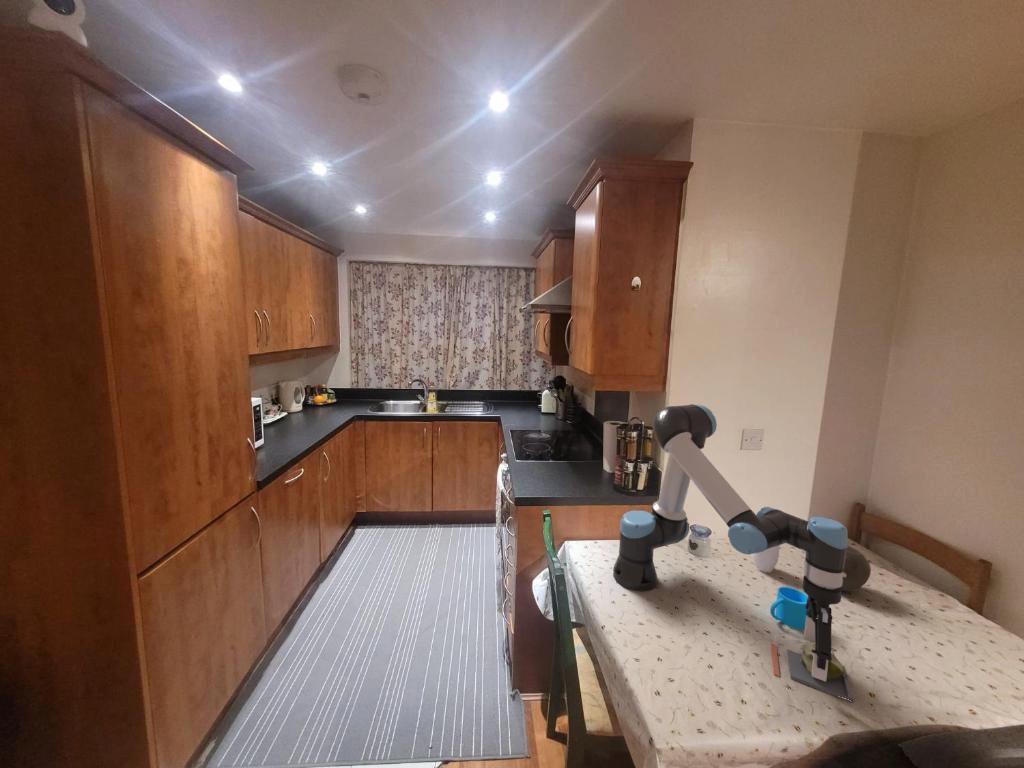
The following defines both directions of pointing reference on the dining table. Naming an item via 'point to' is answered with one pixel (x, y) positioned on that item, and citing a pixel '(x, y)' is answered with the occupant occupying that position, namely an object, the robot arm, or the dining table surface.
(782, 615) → the mug
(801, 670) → the mat
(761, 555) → the mug
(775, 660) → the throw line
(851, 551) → the dark grey round stone
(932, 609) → the dining table surface
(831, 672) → the fruit
